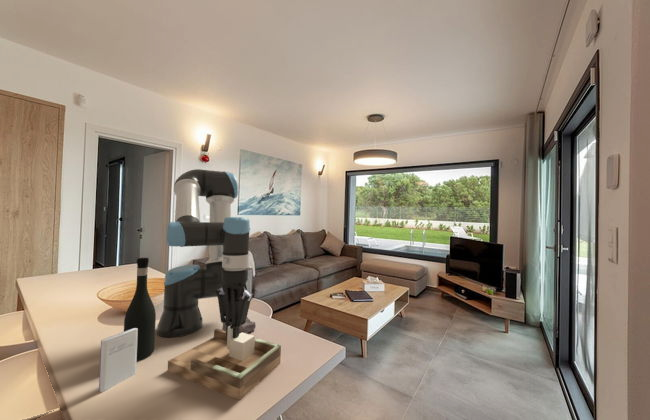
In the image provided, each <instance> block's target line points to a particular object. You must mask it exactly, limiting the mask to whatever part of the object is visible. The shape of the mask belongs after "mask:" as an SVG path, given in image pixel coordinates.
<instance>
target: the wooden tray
mask: <svg viewBox="0 0 650 420" xmlns="http://www.w3.org/2000/svg"><path fill="white" fill-rule="evenodd" d="M281 352H282V344H278V343H274V342H271V341H268V340H264V339H260V338H255V345H254V353H253V354H252V355H250V356H249V357H247V358H246V359H245V360H243V361H241V360H238V359H235V358H232V357H229V350H228V349H227V336H226V331H224V330H223V329H220V328H215V329H214V330H213V337H211V338H210V339H208V340H206V341H204V342H202V343H200V344H198V345H196V346H194V347H192V348H191V349H189V350H187V351H184V352H182V353H181V354H179V355H177V356H175V357H173V358H171V359H169V360H167V372H169V373H171V374H173V375H175V376H178V377H181V378H183V379H186V380H188V381H191V382H193V383H195V384H196V383H197V384H198V385H201V386H204V387H206V388H208V389H211V390H213V391H216V392H218V393H220V394H223V395H225V396H227V397H231V398H233V399H236V400H238V401H241V399H243V398H244V397H246V395H248V393H249V392H250V391H252V390H253V389H254V388H255V387H256V386H257V385H258V384H260V382H262V381H263V380H264V379H265V378H266V377H267V376H269V374H270V373H272V371H273V370H275V369H276V368H277V367H278V366H279V365H280V364H281V354H282V353H281Z"/></svg>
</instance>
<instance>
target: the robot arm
mask: <svg viewBox="0 0 650 420" xmlns="http://www.w3.org/2000/svg"><path fill="white" fill-rule="evenodd" d="M238 189H239V185H238V179H237V176H235V174H234V173H233V172H230V171H229V172H228V171H220V170H219V171H218V170H207V169H202V168H201V169H200V168H199V169H191V170H187V171H186V172H183V173H181V175H180V176H178V177H177V179H176V180H175V181H174V183H173V193H174V195H175V210H174V213H175V214H174V221H170V222H168V223H167V226H166V244H167V246H168V247H180V248H184V247H205V246H206V247H209V254H208V255H209V257H208V260H207V261H206V262H205V265H204V266H205V267H204V268H202V267H201V266H200V265H199V264H186V265H181V266H175V267H173V268H171V269H168V270H167V271H166V273H165V275H164V282H163V285H164V290H163V291H164V293H163V311H162V312H161V315H160V319H159V321H158V323H157V326H156V334H157V335H158V336H160V337H163V338H176V337H178V338H179V337H184V336H189V335H191V334H193V333H195V332H198V331H199V330H200V329H201V328H202V327H203V322H204V321H203V317H202V313H201V310H200V307H199V300H201V299H211V298H217V301H218V303H217V304H218V309H219V317H220V322H221V323H222V324H223V322H224V323H225V325H226V336H227V349H228V350H229V349H230V339H231V338H237V337H238V336H239V326H241V325H243V324H245V322H246V318H247V317H248V314H249V313H248V312H249V309H250V304H251V302H252V300H253V298H254V294H253V293H250V292H249V291H248V287H247V282H248V278H249V276H248V275H249V269H248V268H249V255H250V254H249V251H250V250H249V248H250V247H249V246H250V231H251V227H250V219H249V218H248V217H242V216H241V217H239V216H232V215H231V213H232V211H231V204H233V203H234V201H235V199H236V198H238V193H239V191H238ZM199 197H205V202H207V204H209V222H208V221H206V222H205V221H204V222H203V221H202V222H201V215H200V213H201V212H200V201H199Z"/></svg>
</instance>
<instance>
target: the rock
mask: <svg viewBox="0 0 650 420" xmlns="http://www.w3.org/2000/svg"><path fill="white" fill-rule="evenodd" d="M221 328H222V329H221V330H223V331H226V325H225V323H224V322H223V323H222V327H221ZM255 329H256V322H255V321H253V320H250V319H249V317H248V316H247V318H246V322H245V324H243V325H241V326H239V334H240V333H246V334H249V333H252V332H255Z"/></svg>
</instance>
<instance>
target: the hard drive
mask: <svg viewBox="0 0 650 420" xmlns="http://www.w3.org/2000/svg"><path fill="white" fill-rule="evenodd" d="M137 336H138V328H133V329H130V330H127V331H125V332H124V331H122V332H120V333H117V334H115V335H112V336H109V337H106V338H104V339H102V340H100V355H99V357H100V360H99V381H98V382H99V383H98V392H100V393H104V392H106V391H108V390H109V389H111V388H113V387H115V386H117V385H118V384H119V385H120V383H122V382H124V381H126V380H128V379H130V378H132V377H133V376H134V375H136V374H137V361H138V360H137Z"/></svg>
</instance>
